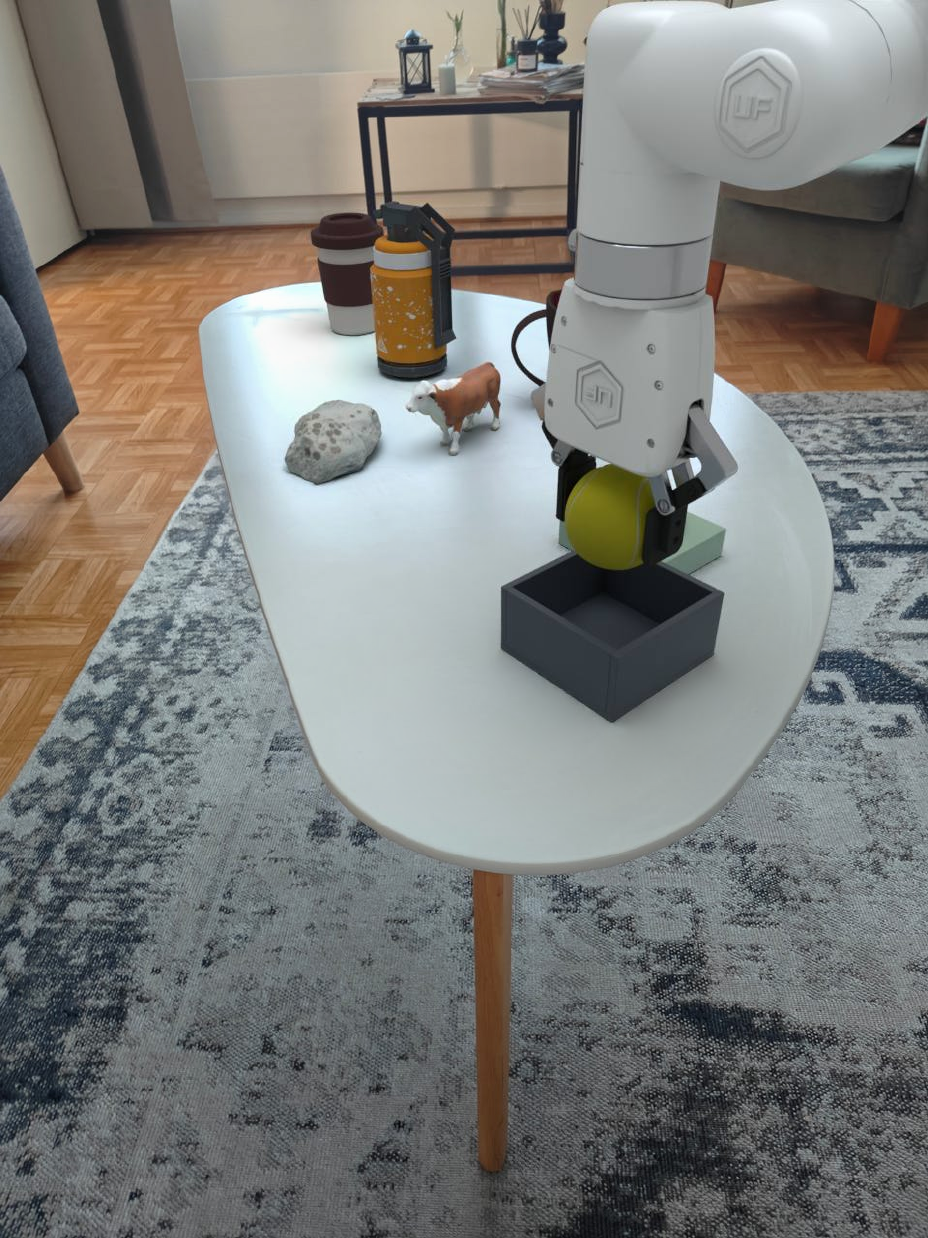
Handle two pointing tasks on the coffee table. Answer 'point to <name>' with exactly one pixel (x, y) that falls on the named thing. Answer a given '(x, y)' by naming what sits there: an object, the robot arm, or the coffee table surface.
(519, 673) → the coffee table surface
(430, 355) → the canister
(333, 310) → the coffee cup
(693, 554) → the push button base
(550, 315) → the mug
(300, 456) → the decorative stone
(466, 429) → the bull figurine
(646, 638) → the bin
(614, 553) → the tennis ball
